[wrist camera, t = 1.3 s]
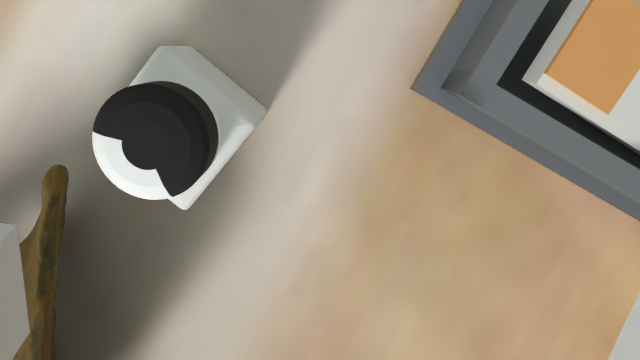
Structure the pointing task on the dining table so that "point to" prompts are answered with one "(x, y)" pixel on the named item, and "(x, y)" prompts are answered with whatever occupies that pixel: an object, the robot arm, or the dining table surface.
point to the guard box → (523, 96)
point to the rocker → (595, 66)
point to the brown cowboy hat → (43, 267)
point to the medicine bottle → (173, 127)
